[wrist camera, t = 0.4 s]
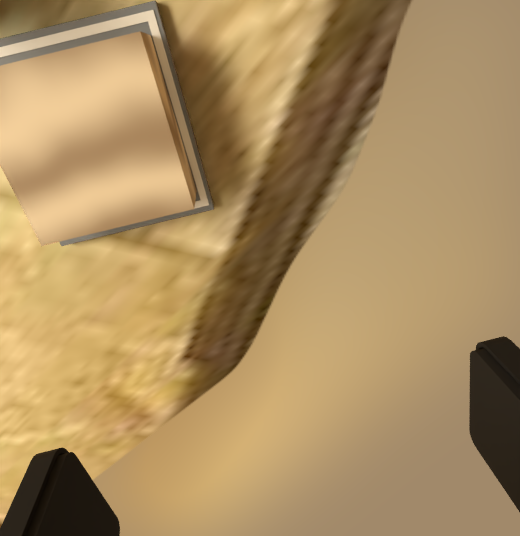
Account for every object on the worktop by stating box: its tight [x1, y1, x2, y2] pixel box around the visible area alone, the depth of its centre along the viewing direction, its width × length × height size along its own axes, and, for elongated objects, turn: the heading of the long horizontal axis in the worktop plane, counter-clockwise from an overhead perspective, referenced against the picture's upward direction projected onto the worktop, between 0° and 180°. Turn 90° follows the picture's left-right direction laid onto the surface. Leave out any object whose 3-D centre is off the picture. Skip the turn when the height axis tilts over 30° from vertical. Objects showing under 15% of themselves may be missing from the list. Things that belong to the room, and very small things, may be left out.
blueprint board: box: [0, 1, 214, 246], centre depth 34 cm, size 16×14×1 cm
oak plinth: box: [0, 31, 197, 246], centre depth 31 cm, size 12×12×5 cm
